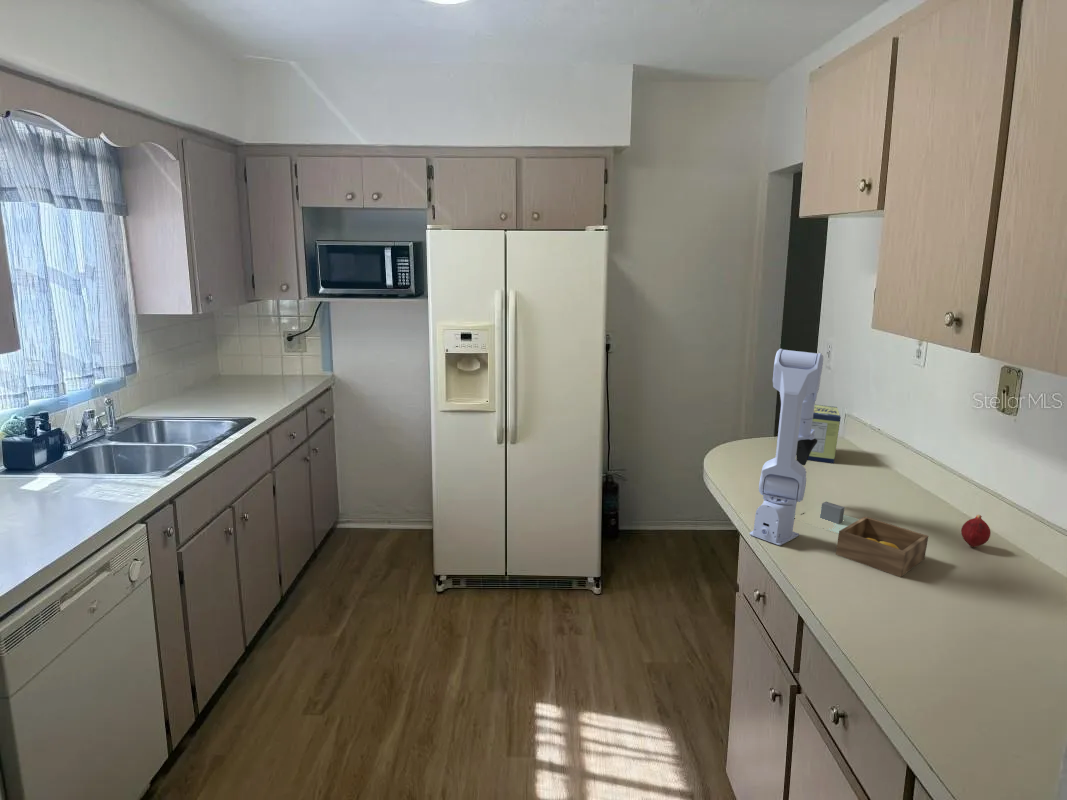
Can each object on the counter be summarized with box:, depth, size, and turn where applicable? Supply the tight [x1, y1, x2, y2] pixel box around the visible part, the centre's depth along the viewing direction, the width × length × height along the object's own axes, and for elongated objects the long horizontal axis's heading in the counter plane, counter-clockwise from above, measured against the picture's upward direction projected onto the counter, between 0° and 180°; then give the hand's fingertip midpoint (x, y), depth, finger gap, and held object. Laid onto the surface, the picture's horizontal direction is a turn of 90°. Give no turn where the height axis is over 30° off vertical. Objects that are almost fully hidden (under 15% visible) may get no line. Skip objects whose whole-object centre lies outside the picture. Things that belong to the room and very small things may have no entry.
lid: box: [820, 501, 861, 535], centre depth 181 cm, size 14×14×5 cm
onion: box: [960, 514, 991, 548], centre depth 168 cm, size 6×6×8 cm
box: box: [835, 516, 930, 578], centre depth 161 cm, size 14×14×6 cm
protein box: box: [807, 404, 841, 464], centre depth 236 cm, size 10×16×16 cm
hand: (794, 467), depth 189 cm, fingers open, 7 cm apart
